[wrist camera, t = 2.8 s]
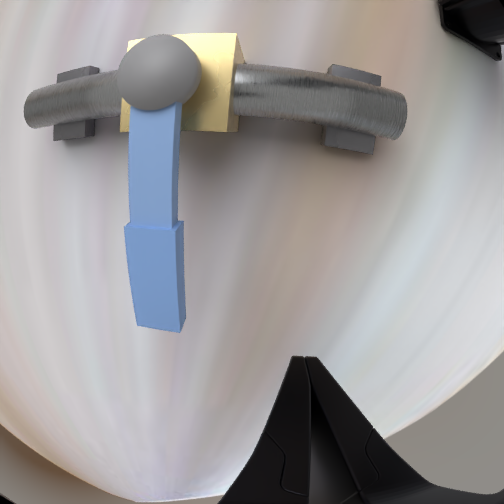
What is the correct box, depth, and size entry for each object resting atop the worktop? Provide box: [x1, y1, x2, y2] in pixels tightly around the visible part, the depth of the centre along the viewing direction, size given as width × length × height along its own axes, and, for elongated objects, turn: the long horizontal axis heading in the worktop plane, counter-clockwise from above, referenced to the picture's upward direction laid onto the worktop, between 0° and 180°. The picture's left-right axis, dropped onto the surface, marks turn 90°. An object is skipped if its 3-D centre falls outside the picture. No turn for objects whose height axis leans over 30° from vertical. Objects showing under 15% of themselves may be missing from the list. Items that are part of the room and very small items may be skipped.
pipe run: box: [24, 33, 407, 155], centre depth 12 cm, size 22×5×6 cm, turn 85°
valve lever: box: [117, 34, 202, 333], centre depth 10 cm, size 12×3×1 cm, turn 175°
